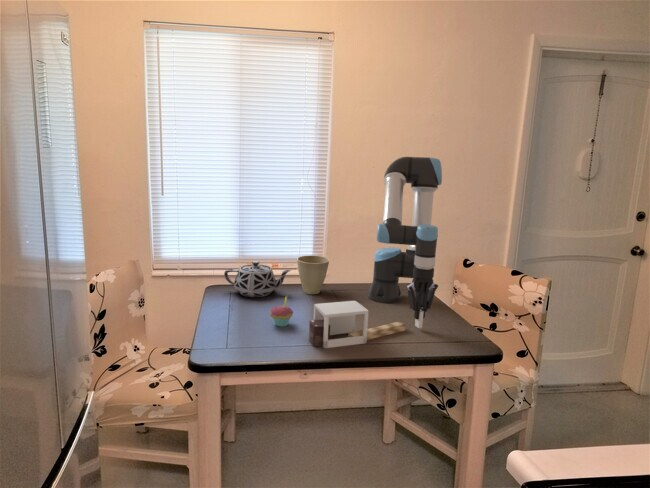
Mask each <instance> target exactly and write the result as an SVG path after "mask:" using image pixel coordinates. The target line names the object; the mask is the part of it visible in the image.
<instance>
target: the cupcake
mask: <svg viewBox="0 0 650 488" xmlns="http://www.w3.org/2000/svg"><path fill="white" fill-rule="evenodd" d="M284 298H285V299H284V302H283V303H284V304H283V305H277V306H275V307H272V308H271V310H270V313H269V316H270V317H271V318H272V319H273V322H274V325H275V326H277V327H286V326H287V325H289V322H290V319H291V318H292V317H293V314H294V311H293V310H292V308H290V307H289V306H287V304H286V303H287V300H288V295H286V296H285V297H284Z"/></svg>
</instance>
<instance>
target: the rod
mask: <svg viewBox="0 0 650 488" xmlns="http://www.w3.org/2000/svg"><path fill="white" fill-rule="evenodd" d="M404 331H406V323H404V322H402V321H395V322H391V323H387V324H383V325H379V326H374V327H370V328H369V327H368V328H367V341H368V340H373V339H375V338H381V337H385V336H388V335H392V334H396V333H400V332H404ZM356 336H363V329H362V330H357V331H354V332H352V333H347V337H356Z"/></svg>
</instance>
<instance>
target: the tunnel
mask: <svg viewBox="0 0 650 488" xmlns="http://www.w3.org/2000/svg"><path fill="white" fill-rule="evenodd" d="M357 315H363V323H362V324H363V325H362V330H363V336H356V337H348V336H347V337H341V338H340V337H339V338H334V339H333V338H330V340H328V324H329V325H330V336H335V335H342V334H348V333H352V332H355V328H356V327H355V326H356V316H357ZM313 320H324V335H323V346H322V348H323V349H331V348H337V347H345V346H355V345H361V344H363V345H364V344H367V343H368V342H367V341H368V340H367V329H369V327H368V326H369V325H368V323H369V310H368V309H367V308H366V307H365V306H363V305H362V304H361V303H360V302H358V301H356V300H346V301H334V302H324V303H314V304H313Z"/></svg>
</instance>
